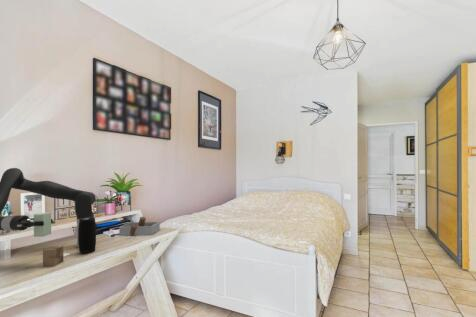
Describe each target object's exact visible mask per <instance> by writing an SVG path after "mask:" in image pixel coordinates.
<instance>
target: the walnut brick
mask: <svg viewBox="0 0 476 317" xmlns="http://www.w3.org/2000/svg"><path fill="white" fill-rule="evenodd" d="M63 253H64V245H57V246H56V245H52V246H49V247H46V248H45V249H42V258H43V259H42V267H56V266H58V265H59V264H61V263H64V257H63Z"/></svg>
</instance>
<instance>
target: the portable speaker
mask: <svg viewBox="0 0 476 317" xmlns="http://www.w3.org/2000/svg"><path fill="white" fill-rule="evenodd" d="M78 244H79V245H78V246H79V247H78V251H79V253H80V254H82V255H84V254H85V255H86V254H89V253H90V252H95V251H96V245H97V225H96V217H91V216H89V217H85V218H80V221H79V227H78Z"/></svg>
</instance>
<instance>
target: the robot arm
mask: <svg viewBox="0 0 476 317" xmlns="http://www.w3.org/2000/svg"><path fill="white" fill-rule="evenodd" d="M12 189H15V190H20V191H25V192H29V193H33V194H37V195H41V196H45V197H47V198H50V199H51V198H52V199H57V200H67V201H72V202H74V211H75V213H74V214H75V216H76V247H77V248H79V246H78V245H79V244H78V227H79V221H80V218H85V217H89V216H91V217H94V216H95V214H94V211H93V209H92V208H93V207H92V205H93V204H94V203H95V202H96V199H97V198H96V195H95V194H94V193H92V192H91V191H85V190H81V189H77V188H76V189H75V188H74V187H73V188H72V187H70V186H67V185H64V184H61V183H58V182H54V181H50V180H40V181H32V180H29V179H27V178H25V177H24V173H23V171H22V170H21V169H20V168H17V167H12V168H11V167H10V168H7V169H6V170H5V171H4V172H3V173H2V175H1V179H0V231H14V232H15V231H25V230H27V229H28V228H34V227H35V226H43V225H44V221H34V217H29V216H28V215H26V214H25V215H24V214H23V215H20V214H19V215H18V214H17V215H3V216H2V212H3V210H4V209H5V207H6V206H7V203H8V201H9V199H10V198H9V197H10V194H11V191H12ZM94 218H95V217H94ZM53 221H54V220H53V218H51V224H53V223H54V222H53Z"/></svg>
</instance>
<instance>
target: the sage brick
mask: <svg viewBox="0 0 476 317" xmlns="http://www.w3.org/2000/svg"><path fill="white" fill-rule="evenodd" d="M33 218H34V221H44V225H43V226H35V227H33V237H34V238H35V237H36V238H37V237H40V238H43V237H47V236H49V235H52V223H51V219H52V212H40V213H35V214H33Z"/></svg>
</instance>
